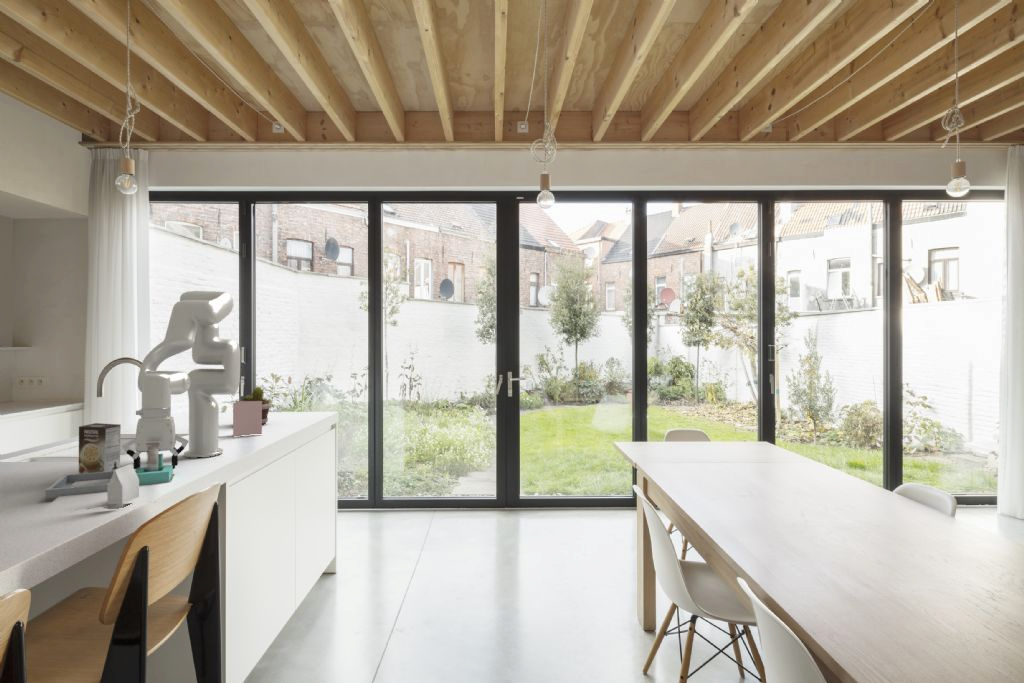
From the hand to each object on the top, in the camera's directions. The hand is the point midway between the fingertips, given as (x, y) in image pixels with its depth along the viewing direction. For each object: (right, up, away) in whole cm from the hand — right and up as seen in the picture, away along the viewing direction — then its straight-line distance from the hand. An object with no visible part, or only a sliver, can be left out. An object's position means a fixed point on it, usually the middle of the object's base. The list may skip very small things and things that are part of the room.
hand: (156, 469), depth 168 cm
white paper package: (+8, -4, -25) cm, 27 cm away
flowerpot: (-16, -1, +98) cm, 99 cm away
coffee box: (-19, -3, +2) cm, 19 cm away
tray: (-12, -3, -13) cm, 17 cm away
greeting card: (-6, -2, +69) cm, 69 cm away
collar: (+2, -2, -4) cm, 5 cm away
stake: (+3, -3, -6) cm, 7 cm away
